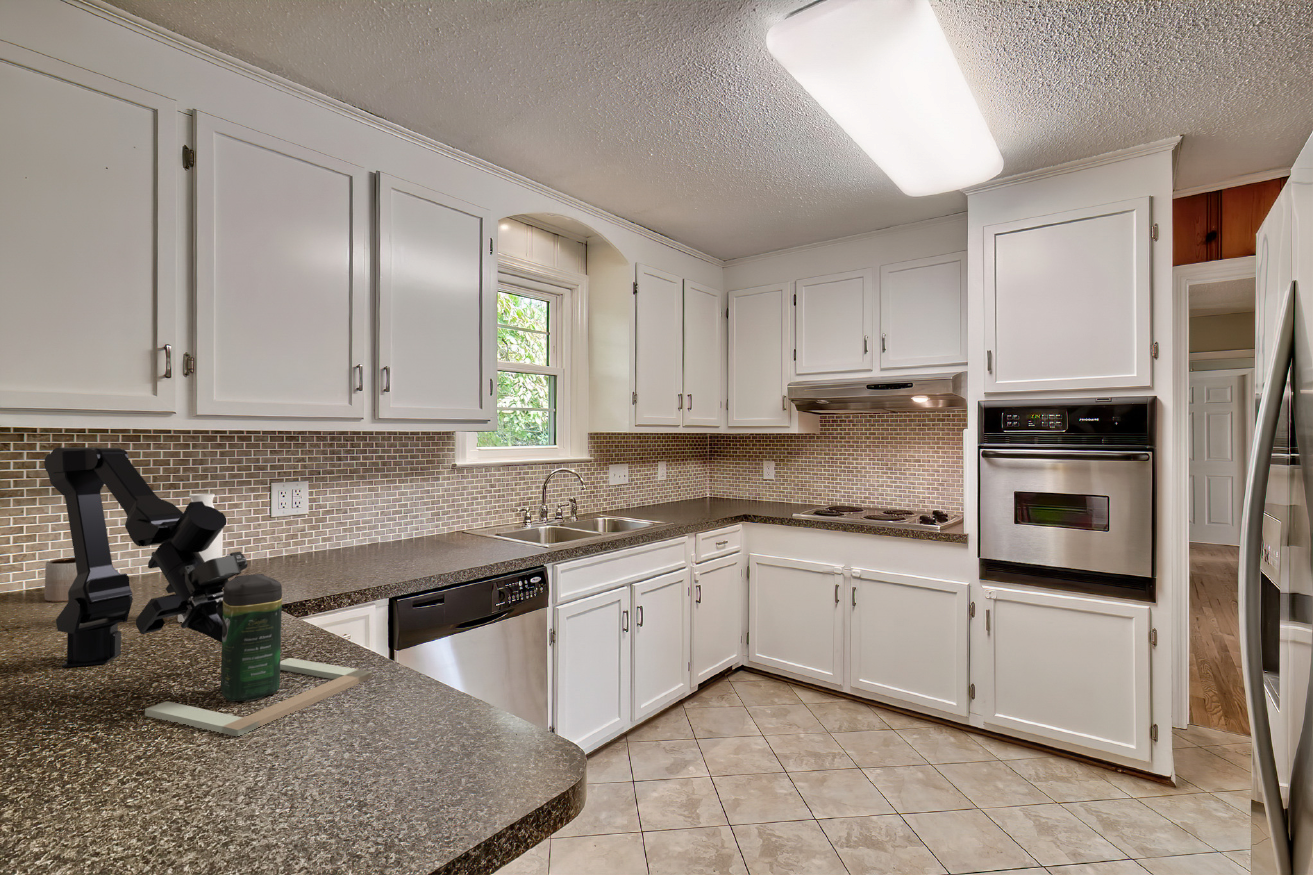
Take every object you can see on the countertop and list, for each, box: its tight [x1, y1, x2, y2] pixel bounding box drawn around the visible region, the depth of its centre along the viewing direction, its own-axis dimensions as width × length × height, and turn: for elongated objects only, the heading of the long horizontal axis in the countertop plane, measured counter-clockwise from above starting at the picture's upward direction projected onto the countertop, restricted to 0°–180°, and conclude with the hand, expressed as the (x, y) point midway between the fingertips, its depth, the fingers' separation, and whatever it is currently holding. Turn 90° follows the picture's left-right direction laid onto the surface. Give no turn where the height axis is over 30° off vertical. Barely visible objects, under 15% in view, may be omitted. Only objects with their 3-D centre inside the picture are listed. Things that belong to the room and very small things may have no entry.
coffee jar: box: [220, 573, 283, 702], centre depth 103 cm, size 10×8×19 cm
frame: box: [144, 657, 373, 737], centre depth 102 cm, size 19×24×1 cm
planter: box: [43, 556, 77, 603], centre depth 163 cm, size 11×11×10 cm
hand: (231, 643), depth 105 cm, fingers closed, pressing on coffee jar
